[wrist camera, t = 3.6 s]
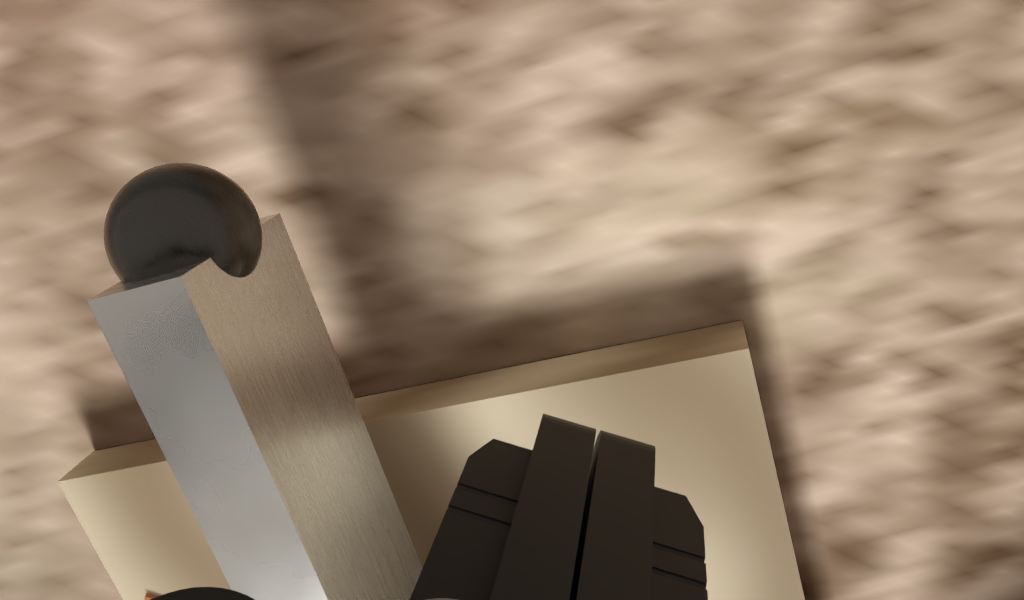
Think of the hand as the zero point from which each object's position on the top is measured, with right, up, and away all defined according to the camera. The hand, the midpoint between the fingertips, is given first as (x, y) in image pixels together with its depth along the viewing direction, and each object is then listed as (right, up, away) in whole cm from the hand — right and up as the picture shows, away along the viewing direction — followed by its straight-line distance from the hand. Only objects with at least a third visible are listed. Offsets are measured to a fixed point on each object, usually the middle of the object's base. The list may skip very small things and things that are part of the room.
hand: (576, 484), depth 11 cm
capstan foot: (-4, -3, +9) cm, 11 cm away
